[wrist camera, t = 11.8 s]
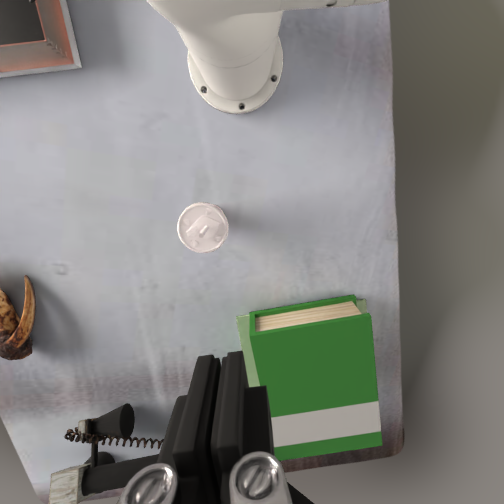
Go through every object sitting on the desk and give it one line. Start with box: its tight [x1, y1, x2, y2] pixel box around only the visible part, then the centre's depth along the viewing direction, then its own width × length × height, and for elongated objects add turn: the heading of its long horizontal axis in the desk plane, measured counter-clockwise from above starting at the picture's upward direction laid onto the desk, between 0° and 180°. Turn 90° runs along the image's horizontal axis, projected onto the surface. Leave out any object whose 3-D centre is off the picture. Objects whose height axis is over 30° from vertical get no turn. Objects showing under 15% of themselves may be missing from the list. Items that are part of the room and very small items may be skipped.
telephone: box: [49, 404, 164, 504], centre depth 54 cm, size 15×13×30 cm
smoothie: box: [177, 202, 229, 253], centre depth 40 cm, size 6×6×14 cm
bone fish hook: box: [0, 275, 36, 360], centre depth 49 cm, size 9×5×18 cm
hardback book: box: [249, 294, 382, 461], centre depth 50 cm, size 18×7×24 cm
